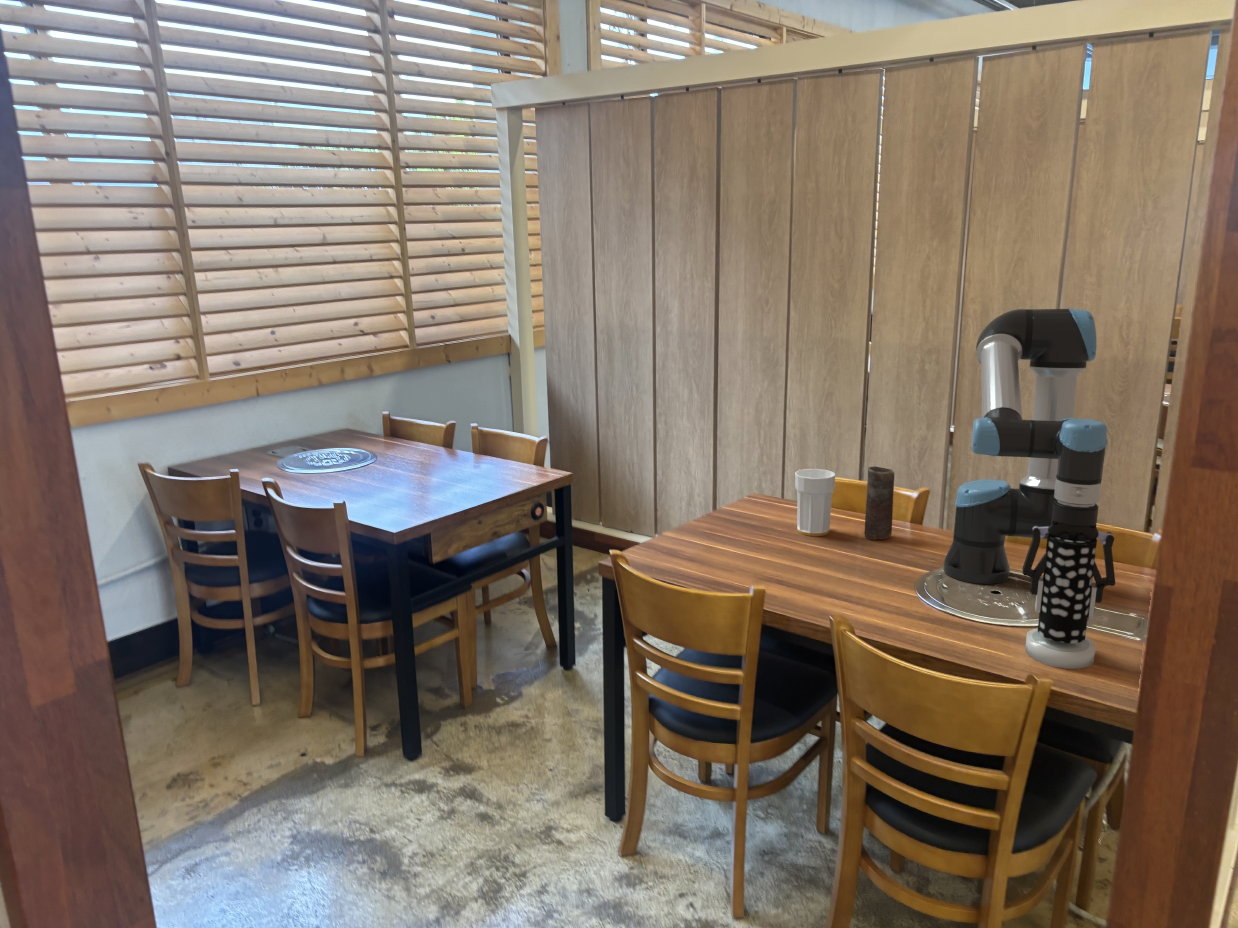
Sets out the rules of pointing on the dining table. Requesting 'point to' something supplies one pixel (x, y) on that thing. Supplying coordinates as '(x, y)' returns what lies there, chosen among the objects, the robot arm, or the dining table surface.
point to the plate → (1060, 651)
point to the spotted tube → (1066, 589)
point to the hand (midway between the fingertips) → (1063, 613)
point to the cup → (814, 501)
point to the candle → (879, 503)
